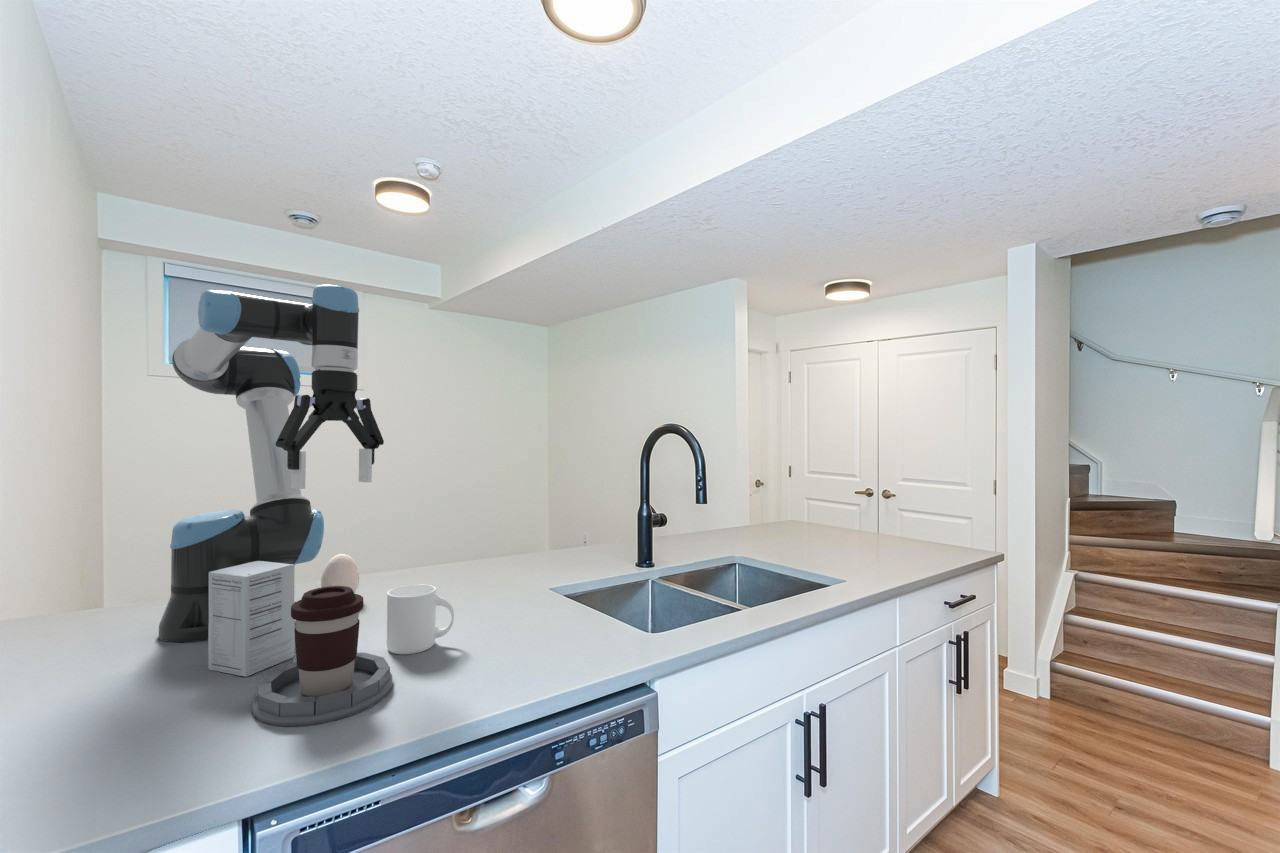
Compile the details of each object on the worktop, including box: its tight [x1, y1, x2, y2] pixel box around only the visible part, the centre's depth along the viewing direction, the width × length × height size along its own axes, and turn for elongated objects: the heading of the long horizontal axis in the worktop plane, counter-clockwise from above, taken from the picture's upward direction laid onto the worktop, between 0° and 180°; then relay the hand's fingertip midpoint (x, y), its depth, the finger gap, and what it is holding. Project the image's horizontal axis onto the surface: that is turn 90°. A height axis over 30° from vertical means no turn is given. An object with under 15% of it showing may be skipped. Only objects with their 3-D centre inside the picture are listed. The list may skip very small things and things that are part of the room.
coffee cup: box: [291, 586, 364, 697], centre depth 89 cm, size 10×10×15 cm
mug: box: [386, 583, 455, 656], centre depth 109 cm, size 9×12×11 cm
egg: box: [320, 553, 360, 594], centre depth 134 cm, size 8×8×11 cm
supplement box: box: [207, 561, 296, 678], centre depth 100 cm, size 10×9×17 cm
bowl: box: [251, 652, 393, 728], centre depth 89 cm, size 19×19×3 cm
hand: (333, 485), depth 106 cm, fingers open, 13 cm apart
